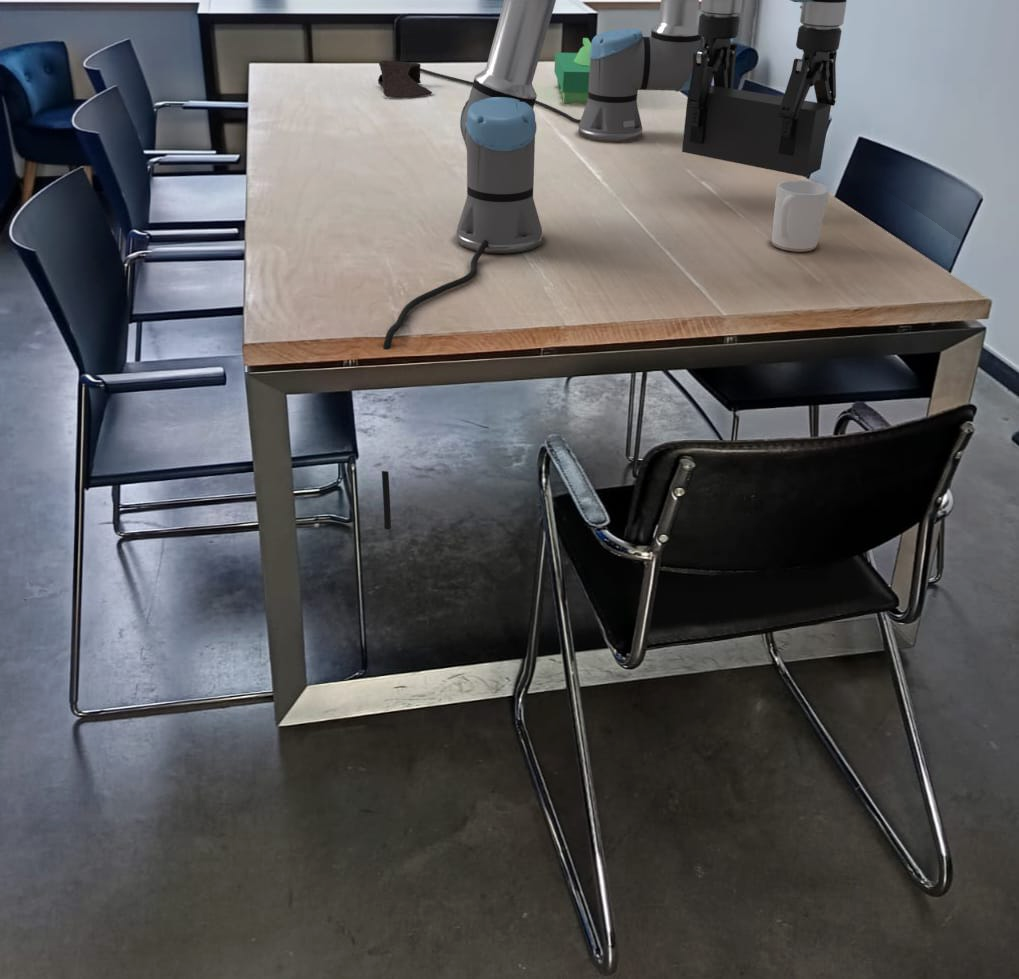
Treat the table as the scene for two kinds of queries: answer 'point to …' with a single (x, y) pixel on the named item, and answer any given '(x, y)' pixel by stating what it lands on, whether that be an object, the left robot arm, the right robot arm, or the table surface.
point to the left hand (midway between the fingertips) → (801, 147)
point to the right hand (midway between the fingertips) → (705, 138)
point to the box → (758, 131)
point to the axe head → (401, 79)
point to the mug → (798, 215)
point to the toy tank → (574, 74)
